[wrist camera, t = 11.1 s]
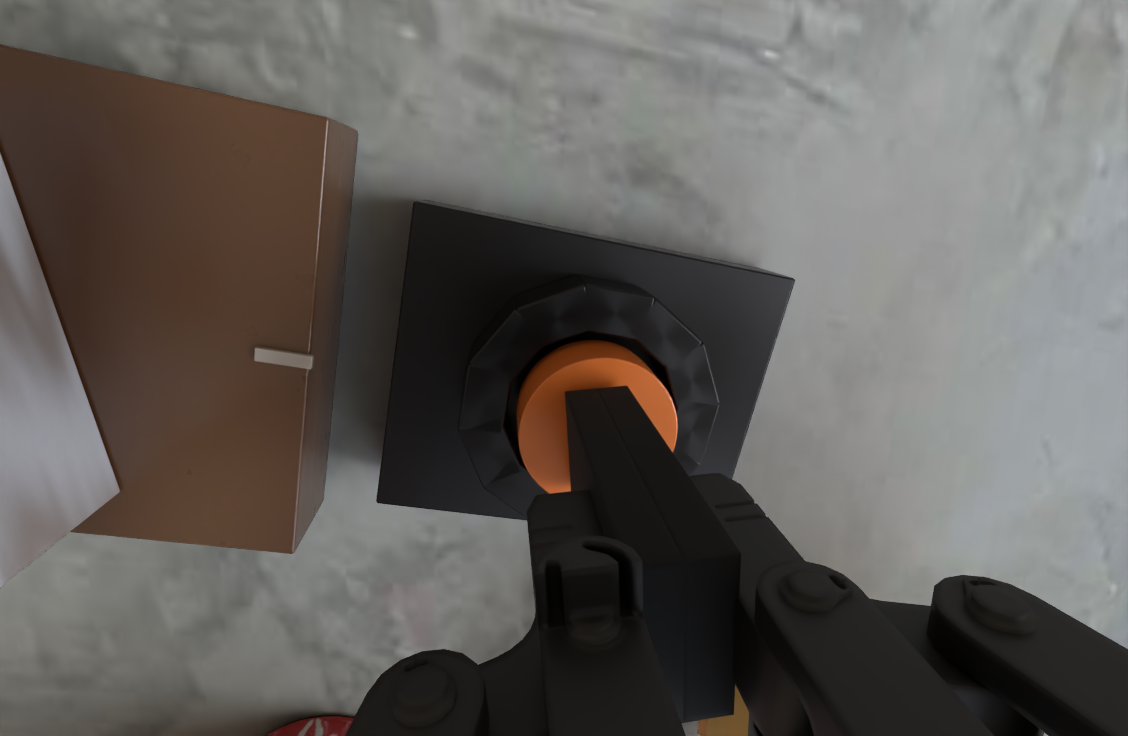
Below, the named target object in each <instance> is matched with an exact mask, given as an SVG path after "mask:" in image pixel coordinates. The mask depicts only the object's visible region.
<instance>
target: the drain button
mask: <svg viewBox="0 0 1128 736" xmlns="http://www.w3.org/2000/svg"><path fill="white" fill-rule="evenodd" d="M626 385H627V386H628V388H629V389H630V390H631V392H632V393H633V395H634V396H635V398H636V399H637V401H638V402H639V404H640V405H641V407H642V408H643V410H644V411H645V413H646V414H647V415H648V417H649V418H650V420H651V421H652V423H653V424H654V426H655V427H656V429H657V430H658V432H659V433H660V435H661V436H662V438H663V439H664V441H665V442H666V443H667V445H668V446H669V448H670V449H671V451H672V452H673V450H674V447H675V444H676V439H677V430H678V423H677V414H676V409H675V406H674V403H673V401H672V398H671V396H670V394H669V393H668V391H667V389H666V388H665V387H664V385H663V384H662V383H661V381H660V380H659V379H658V378H657V377H656V376H655V374H654V373H653V372H652V371H651V370H650V369H649V367H648V366H647V365H646V364H645V363H644V362H643V361H642V360H641V359H640V358H639V357H638V356H637V355H636V354H634V353H633V352H632V351H630V350H628V349H627V348H625V347H623V346H620V345H618V344H615V343H612V342H608V341H602V340H582V341H576V342H572V343H569V344H566V345H563V346H561V347H558V348H556V349H555V350H553V351H551V352H550V353H548V354H547V355H545V356H544V357H543V358H541V359H540V360H539V361H538V362H537V363H536V364H535V365H534V366H533V368H532V369H531V370H530V372H529V373H528V374H527V376H526V378H525V379H524V381H523V383H522V386H521V388H520V391H519V395H518V398H517V406H516V419H517V431H518V443H519V449H520V454H521V457H522V460H523V463H524V465H525V467H526V469H527V471H528V472H529V474H530V475H531V477H532V478H533V479H534V480H535V481H536V482H537V484H538V485H539V486H541V487H542V488H543V489H544V490H545V491H547V492H548V493H550V494H551V493H559V492H568V491H571V485H570V468H569V452H568V436H567V420H566V404H565V391H574V390H585V389H595V388H606V387H616V386H626Z"/></svg>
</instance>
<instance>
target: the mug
mask: <svg viewBox="0 0 1128 736" xmlns="http://www.w3.org/2000/svg"><path fill="white" fill-rule="evenodd" d="M353 719H354V718H349V717H341V716H331V717H316V718H309V719H305V720H300V721H297V722H294V723H291V724H289V725H286V726H283V727H281V728H279V729H277V730H275V731H273V732H271V733H270V734H268V735H267V736H345V735H346V733H347V731H348V729H349V727H350V725H351V723H352V721H353Z"/></svg>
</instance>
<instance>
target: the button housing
mask: <svg viewBox="0 0 1128 736" xmlns="http://www.w3.org/2000/svg"><path fill="white" fill-rule="evenodd" d="M794 282H795V279H793V278H790V277H787V276H784V275H780V274H777V273H774V272H770V271H767V270H763V269H759V268H755V267H750V266H745V265H740V264H735V263H730V262H725V261H721V260H716V259H711V258H706V257H701V256H696V255H691V254H686V253H682V252H677V251H672V250H667V249H662V248H657V247H652V246H648V245H643V244H638V243H633V242H628V241H623V240H618V239H613V238H609V237H604V236H599V235H594V234H589V233H584V232H579V231H575V230H570V229H565V228H560V227H555V226H550V225H545V224H541V223H536V222H531V221H526V220H521V219H516V218H511V217H506V216H502V215H497V214H492V213H487V212H482V211H477V210H472V209H468V208H463V207H458V206H453V205H448V204H443V203H438V202H434V201H429V200H422V201H415V202H414V203H413V210H412V218H411V226H410V234H409V242H408V250H407V258H406V266H405V274H404V282H403V290H402V299H401V307H400V315H399V323H398V331H397V339H396V347H395V355H394V363H393V371H392V379H391V387H390V395H389V403H388V411H387V419H386V427H385V435H384V444H383V452H382V460H381V468H380V476H379V484H378V492H377V500H376V501H377V503H382V504H390V505H399V506H408V507H416V508H425V509H434V510H442V511H451V512H460V513H468V514H477V515H485V516H494V517H503V518H511V519H520V520H527V510H528V508H529V507H530V505H531V503H532V501H533V500H534V498H535V496H536V495H542V494H550V493H548V492H547V491H545V490H544V489H543V488H542V487H541V486H539V485H538V484H537V482H536V481H535V480H534V479H533V478H532V477H531V475H530V474H529V472H528V471H527V469H526V467H525V465H524V463H523V460H522V457H521V454H520V449H519V443H518V431H517V419H516V406H517V398H518V395H519V391H520V388H521V386H522V383H523V381H524V379H525V378H526V376H527V374H528V373H529V372H530V370H531V369H532V368H533V366H534V365H535V364H536V363H537V362H538V361H539V360H540V359H541V358H543V357H544V356H545V355H547V354H548V353H550V352H551V351H553V350H555V349H556V348H558V347H561V346H563V345H566V344H569V343H572V342H576V341H582V340H602V341H608V342H612V343H615V344H618V345H620V346H623V347H625V348H627V349H628V350H630V351H632V352H633V353H634V354H636V355H637V356H638V357H639V358H640V359H641V360H642V361H643V362H644V363H645V364H646V365H647V366H648V367H649V369H650V370H651V371H652V372H653V373H654V374H655V376H656V377H657V378H658V379H659V380H660V381H661V383H662V384H663V385H664V387H665V388H666V389H667V391H668V393H669V394H670V396H671V398H672V401H673V403H674V406H675V409H676V414H677V423H678V430H677V439H676V444H675V447H674V450H673V454H674V455H675V457H676V458H677V460H678V461H679V463H680V464H681V466H682V467H683V468H684V470H685V471H686V473H687V474H688V476H693V475H702V474H711V473H721V474H723V475H725V476H726V477H728V478H730V479H732V477H733V474H734V471H735V467H736V464H737V461H738V458H739V455H740V452H741V449H742V445H743V442H744V439H745V436H746V433H747V430H748V427H749V423H750V420H751V417H752V414H753V411H754V408H755V405H756V401H757V398H758V395H759V392H760V389H761V386H762V383H763V379H764V376H765V373H766V370H767V367H768V364H769V361H770V357H771V354H772V351H773V348H774V345H775V342H776V339H777V335H778V332H779V329H780V326H781V323H782V320H783V317H784V313H785V310H786V307H787V304H788V301H789V298H790V295H791V291H792V288H793V285H794Z"/></svg>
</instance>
